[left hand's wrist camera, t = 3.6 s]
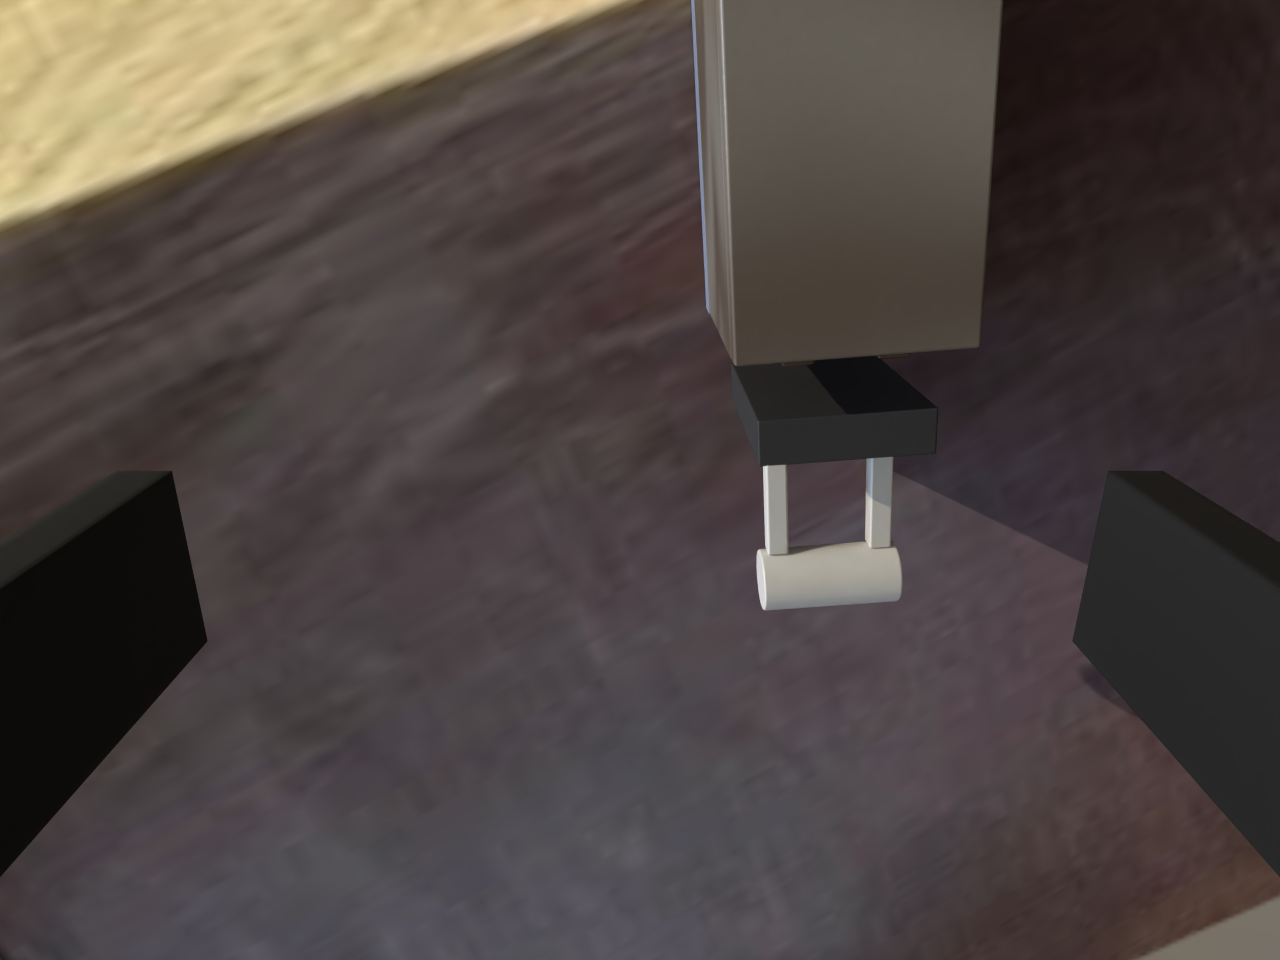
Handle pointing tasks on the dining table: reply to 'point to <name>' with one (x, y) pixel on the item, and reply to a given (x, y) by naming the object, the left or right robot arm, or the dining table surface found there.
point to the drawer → (821, 432)
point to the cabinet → (845, 173)
